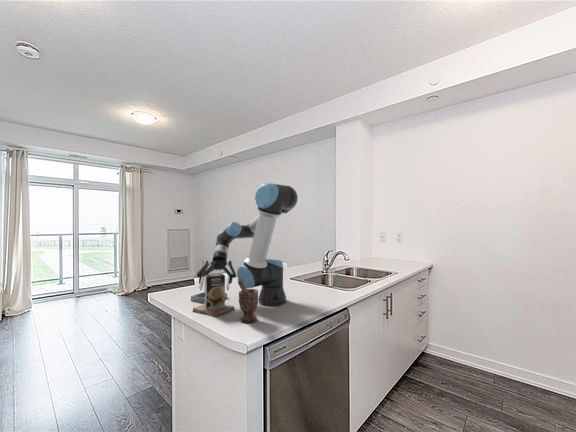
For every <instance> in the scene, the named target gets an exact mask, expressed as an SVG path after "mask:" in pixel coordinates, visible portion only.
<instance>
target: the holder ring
mask: <svg viewBox="0 0 576 432" xmlns="http://www.w3.org/2000/svg"><path fill="white" fill-rule="evenodd" d="M227 298H228V293H226V292H225V299H227ZM190 301H191V302H195V303H199V304H200V303H201V304H204V291H203V292H200V293H197V294H194V295H191V296H190Z"/></svg>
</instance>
